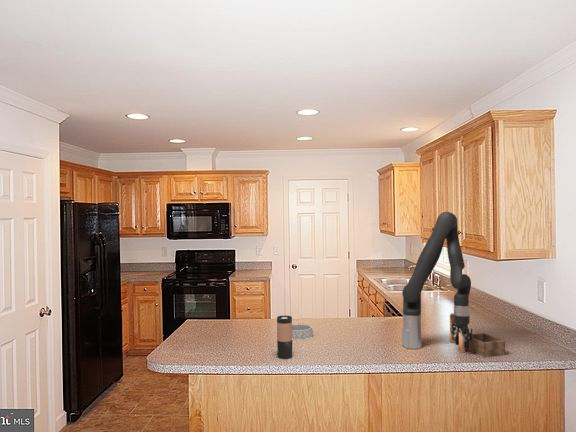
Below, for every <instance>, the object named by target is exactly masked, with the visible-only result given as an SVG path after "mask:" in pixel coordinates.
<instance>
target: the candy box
mask: <svg viewBox="0 0 576 432" xmlns="http://www.w3.org/2000/svg"><path fill="white" fill-rule="evenodd" d="M452 323H454V312H452V313H450V314H449V332H450V333H449V342H450V343H454V344H455V337H454V335H452ZM454 333H455V330H454ZM465 335H466V334H465Z"/></svg>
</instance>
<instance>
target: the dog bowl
mask: <svg viewBox="0 0 576 432" xmlns="http://www.w3.org/2000/svg"><path fill="white" fill-rule="evenodd" d="M313 333H314V330H313V327H312V326H311V325H309V324H306V323H305V324H304V323H303V324H302V323H300V324H299V323H296V324H294V323H293V324H292V338H293V339H305V338H310V337H312V336H313V337H314V334H313ZM313 337H312V338H313ZM310 339H311V338H310ZM305 340H306V339H305Z"/></svg>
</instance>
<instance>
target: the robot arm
mask: <svg viewBox="0 0 576 432" xmlns="http://www.w3.org/2000/svg"><path fill="white" fill-rule="evenodd" d="M458 230H459V229H458V218H457V215H455V214H454V213H453V212H450V211H443V212H441V213H440V214H439V215H438V217H437V218H436V222H435V224H434V226H433V229H432V232H431V235H430V236H429V238H428V239H427V241H426V243H425V245H424V246H423V248H422V251H421V252H420V254H419V256H418V259H417V262H416V264H415V267H414V269H413V273H412V274H411V277H410V278H409V280H408V282H407V284H406V285H404V287H403V289H402V292H401V293H402V294H401V295H402V297H403V298H402V306H403V307H402V327H401V345H402V347H403V348H406V349H409V350H411V349H412V350H416V349H421V348H422V343H423V342H422V291H423V288H424V285H425V284H426V282H427V280H428V278H429V276H430V275H431V273H432V272H433V270H434V268H435V267H436V265H437V263H438V261H439V259H440V257H441V255H442V251H443V248H444V245H445V240H446V249H447V250H446V251H447V256H448V257H447V258H448V262H449V267H450V269H449V270H450V271H449V273H450V274H449V275H450V276H449V277H450V278H449V279H450V284H451V286H452V287H453V288H454V289H456V290H457V292H456V293H454V295H453V296H454V297H453V314H454V323H452V335H454V337H455V343H454V344H455V345H456V346H457V345H458V346H459V332H460V333H461V335H462V337H463V338H464V348H465V350H467V349H469V341H472V334H473V329H472V328H469V325H470V323H471V322H470V321H471V320H470V305H469V304H470V302H469V301H470V299H469V296H470V293H471V289H472V288H471V287H472V279H471V278H470V276H469V275H468V274H465V273H464V274H463V270H464V269H465V267H466V265H465V264H466V263H465V261H464V256H463V255H464V254H463V252H462V248H461V244H460V239H459V232H458ZM454 330H455V333H454ZM465 334H466V335H465ZM469 336H470V338H469Z"/></svg>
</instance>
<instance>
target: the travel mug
mask: <svg viewBox="0 0 576 432" xmlns="http://www.w3.org/2000/svg"><path fill="white" fill-rule="evenodd" d="M292 325H293V317H292V315H279V316H277V317H276V337H277V338H276V345H277V358H278V359H280V360H290V359H292V358H293V340H292ZM289 358H290V359H289Z"/></svg>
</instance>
